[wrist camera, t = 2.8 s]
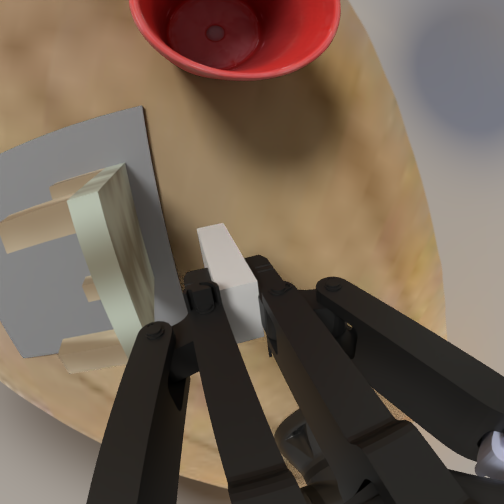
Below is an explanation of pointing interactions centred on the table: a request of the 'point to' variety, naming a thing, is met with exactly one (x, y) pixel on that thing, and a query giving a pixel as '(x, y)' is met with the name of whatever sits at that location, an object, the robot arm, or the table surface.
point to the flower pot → (238, 34)
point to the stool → (95, 259)
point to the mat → (68, 247)
